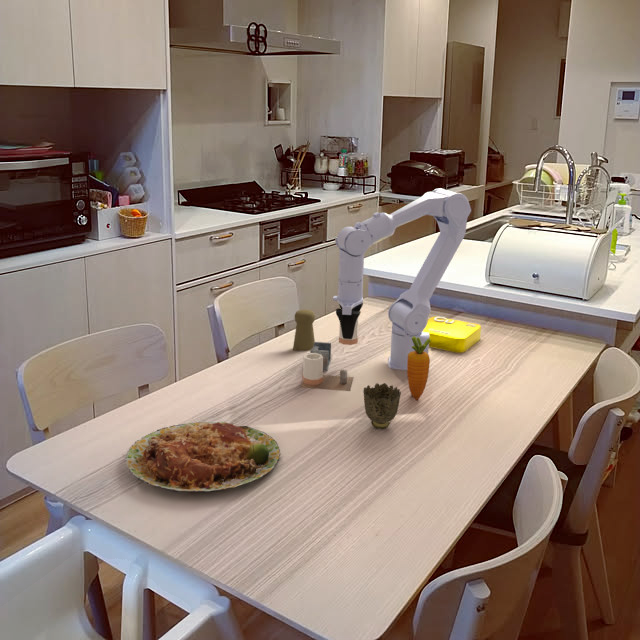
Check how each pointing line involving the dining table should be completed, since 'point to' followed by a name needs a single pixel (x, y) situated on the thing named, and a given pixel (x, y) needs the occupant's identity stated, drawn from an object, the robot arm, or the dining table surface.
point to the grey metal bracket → (323, 353)
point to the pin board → (334, 382)
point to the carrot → (418, 368)
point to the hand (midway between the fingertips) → (348, 335)
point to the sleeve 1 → (313, 368)
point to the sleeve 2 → (354, 338)
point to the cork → (304, 330)
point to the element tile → (452, 334)
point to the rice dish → (202, 456)
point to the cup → (381, 404)
